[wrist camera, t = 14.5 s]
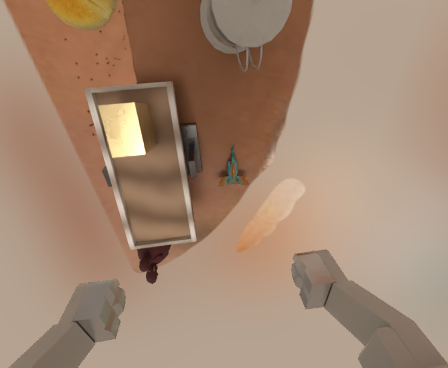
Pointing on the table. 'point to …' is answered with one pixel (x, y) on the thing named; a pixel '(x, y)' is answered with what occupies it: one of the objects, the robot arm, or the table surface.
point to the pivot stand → (189, 151)
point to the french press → (243, 24)
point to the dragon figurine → (233, 174)
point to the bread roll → (83, 12)
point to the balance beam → (149, 169)
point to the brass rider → (128, 128)
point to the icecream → (152, 260)
